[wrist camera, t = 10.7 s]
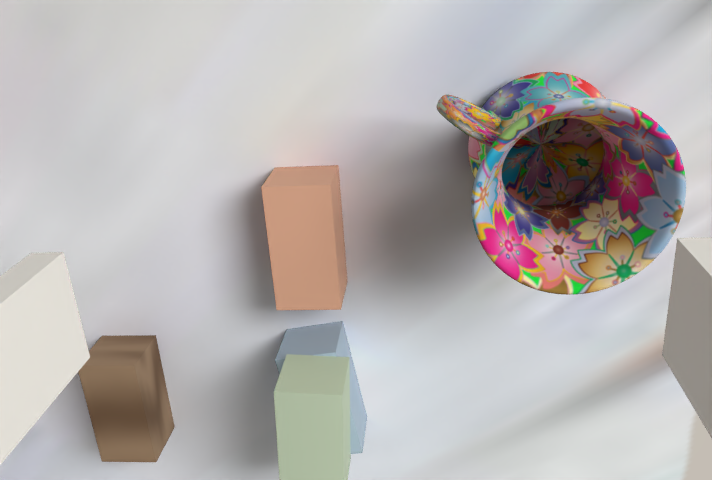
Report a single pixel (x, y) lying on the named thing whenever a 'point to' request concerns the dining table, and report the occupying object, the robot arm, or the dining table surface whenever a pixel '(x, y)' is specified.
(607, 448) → the dining table surface
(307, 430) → the sage brick
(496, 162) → the mug
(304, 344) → the blue brick
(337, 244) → the terracotta brick
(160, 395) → the walnut brick
